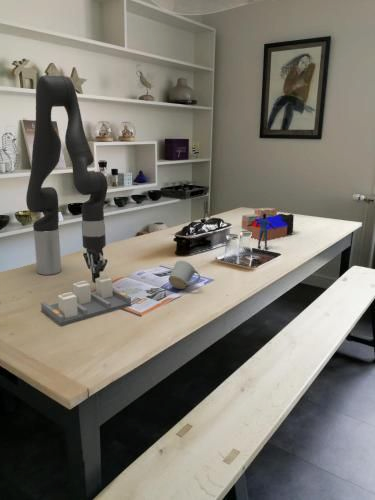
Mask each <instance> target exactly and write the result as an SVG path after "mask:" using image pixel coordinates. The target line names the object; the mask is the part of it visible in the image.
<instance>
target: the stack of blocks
mask: <svg viewBox="0 0 375 500" xmlns="http://www.w3.org/2000/svg"><path fill="white" fill-rule="evenodd" d="M263 214H266V217H272V216H276V215H278V209H277V208H273V207H261V208H254V213H252V214H251V213H250V214H242V216H241V229H242V230H245V231H247V230H248V225H249V224H250V223H251V222H253V221H254V220H255V219H259V218H263Z"/></svg>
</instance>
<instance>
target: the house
mask: <svg viewBox="0 0 375 500" xmlns="http://www.w3.org/2000/svg"><path fill="white" fill-rule="evenodd" d="M277 215H278V214H277ZM280 218H281V219H283V218H282V217H281V215H278V216H272V217H266V218H265V219H267V220H268V221H269V223H270V224H271V225H272V226H273V227H274V228H276V230H275V229H274V228H273V227H271V226H269V224H268V223H267V241H271V240H276V238H277V239H280V238H281V237H282V238H287V237H286V236H287V235H288V234H287V226H288V225H287V224H286V223H285V222H284V221H282V220H281V219H280ZM260 219H263V218H259V219H255V220H254V221H253V222H251V223H250V224H249V225H248V230H246V231H250V232H252V236H251V238H250V239H253V238H254V239H253V240H256V239H257V240H256V241H259V238H260V229H261V222H260V223H259V224H258V226H257V227H256V224H257V223H258V221H259V220H260ZM282 238H281V239H282ZM261 242H265V238H264V232H263V235H262V238H261Z"/></svg>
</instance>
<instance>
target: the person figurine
mask: <svg viewBox="0 0 375 500" xmlns="http://www.w3.org/2000/svg"><path fill="white" fill-rule="evenodd" d="M265 218H266V214H263V219H260V220H259V221H258V223H257V224H256V227H257V226H258V224H259V223H260V222H261V229H260V238H259V240H257V249H260V250H261V249H262V251H263V250H268V249H269V247H268V246H267V245H268V240H267V223H268V224H269V226H271V227H273V226H272V225H271V224H270V223H269V221H268V220H267V219H265ZM273 228H274V227H273ZM274 229H275V230H276V228H274ZM263 232H264V238H265V241H264V246H261V242H262V241H261V238H262V235H263Z"/></svg>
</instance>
